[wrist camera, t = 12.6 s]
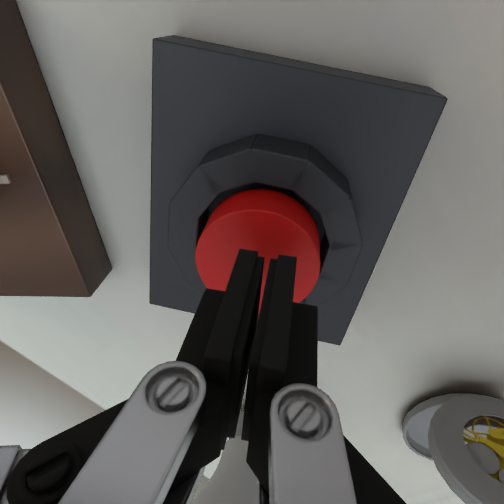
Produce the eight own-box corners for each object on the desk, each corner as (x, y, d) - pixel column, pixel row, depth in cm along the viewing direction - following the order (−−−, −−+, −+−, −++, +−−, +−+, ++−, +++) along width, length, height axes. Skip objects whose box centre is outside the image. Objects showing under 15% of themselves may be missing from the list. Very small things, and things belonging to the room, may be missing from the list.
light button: (212, 176, 13) (200, 196, 12) (333, 202, 13) (336, 225, 12) (201, 273, 16) (190, 299, 14) (303, 295, 16) (302, 324, 14)
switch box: (172, 34, 14) (130, 41, 11) (430, 87, 14) (468, 110, 11) (163, 278, 21) (135, 328, 17) (337, 316, 21) (342, 375, 17)
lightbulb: (255, 445, 29) (229, 648, 20) (194, 406, 27) (134, 608, 18) (314, 417, 26) (316, 640, 17) (250, 371, 24) (212, 591, 15)
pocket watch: (422, 456, 26) (473, 660, 18) (371, 387, 23) (404, 595, 15) (553, 431, 23) (688, 665, 15) (514, 346, 20) (659, 583, 12)
